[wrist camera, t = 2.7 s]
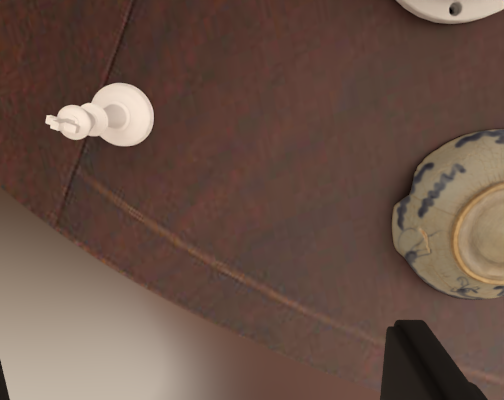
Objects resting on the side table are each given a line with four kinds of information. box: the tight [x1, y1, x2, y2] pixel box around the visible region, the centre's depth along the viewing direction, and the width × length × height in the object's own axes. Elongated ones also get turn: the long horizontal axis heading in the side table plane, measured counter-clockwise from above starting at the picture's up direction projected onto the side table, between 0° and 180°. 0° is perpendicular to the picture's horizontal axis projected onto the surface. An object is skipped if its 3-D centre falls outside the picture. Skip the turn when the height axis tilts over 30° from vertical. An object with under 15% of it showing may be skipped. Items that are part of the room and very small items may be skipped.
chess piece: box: [45, 83, 154, 146], centre depth 24 cm, size 5×5×10 cm
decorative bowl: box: [392, 129, 504, 300], centre depth 29 cm, size 15×4×15 cm
